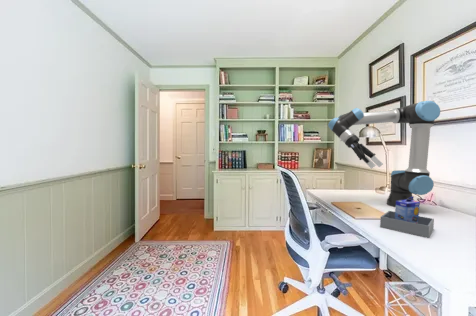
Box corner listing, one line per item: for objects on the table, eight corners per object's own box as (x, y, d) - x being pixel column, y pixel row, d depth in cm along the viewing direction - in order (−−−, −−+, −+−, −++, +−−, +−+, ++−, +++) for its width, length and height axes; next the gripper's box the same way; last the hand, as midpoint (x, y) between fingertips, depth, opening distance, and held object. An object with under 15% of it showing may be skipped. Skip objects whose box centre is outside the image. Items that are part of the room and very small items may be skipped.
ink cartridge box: (405, 229, 105) (407, 198, 104) (393, 226, 110) (394, 195, 109) (419, 227, 109) (420, 196, 108) (406, 223, 114) (408, 194, 113)
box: (388, 220, 121) (389, 210, 121) (433, 229, 108) (433, 218, 108) (380, 227, 111) (380, 216, 110) (428, 238, 98) (429, 226, 97)
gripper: (352, 143, 147) (378, 169, 137) (336, 143, 129) (364, 172, 119) (362, 135, 142) (389, 160, 132) (346, 133, 125) (376, 162, 115)
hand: (377, 166), depth 126 cm, fingers open, 13 cm apart
